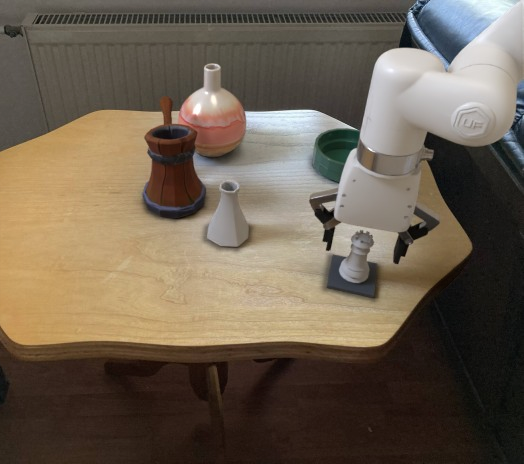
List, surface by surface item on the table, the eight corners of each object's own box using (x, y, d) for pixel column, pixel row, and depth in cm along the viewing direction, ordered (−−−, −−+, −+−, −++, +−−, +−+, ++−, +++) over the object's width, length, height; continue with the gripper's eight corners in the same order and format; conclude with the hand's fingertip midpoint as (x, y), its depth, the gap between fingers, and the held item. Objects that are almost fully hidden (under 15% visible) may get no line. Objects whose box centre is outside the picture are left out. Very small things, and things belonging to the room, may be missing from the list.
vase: (248, 166, 101) (254, 82, 89) (179, 168, 100) (175, 84, 88) (241, 130, 111) (245, 50, 99) (178, 132, 110) (174, 52, 98)
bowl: (381, 153, 105) (386, 134, 102) (377, 191, 95) (383, 171, 92) (316, 142, 107) (319, 124, 104) (307, 178, 98) (310, 159, 95)
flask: (199, 241, 85) (199, 193, 78) (216, 215, 90) (216, 168, 83) (240, 253, 83) (243, 205, 76) (255, 225, 88) (259, 178, 81)
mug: (140, 163, 101) (133, 93, 91) (198, 159, 103) (197, 89, 93) (144, 222, 88) (135, 148, 78) (210, 217, 89) (210, 143, 79)
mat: (376, 265, 81) (377, 263, 81) (373, 298, 76) (374, 295, 76) (332, 256, 82) (332, 254, 82) (326, 288, 77) (327, 285, 77)
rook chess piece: (367, 265, 80) (378, 227, 75) (368, 286, 77) (380, 248, 71) (338, 262, 81) (347, 223, 75) (338, 282, 77) (348, 244, 72)
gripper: (459, 147, 65) (423, 245, 76) (321, 127, 68) (307, 224, 80) (463, 181, 59) (423, 281, 71) (313, 158, 63) (299, 256, 74)
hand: (361, 251), depth 75 cm, fingers open, 9 cm apart
